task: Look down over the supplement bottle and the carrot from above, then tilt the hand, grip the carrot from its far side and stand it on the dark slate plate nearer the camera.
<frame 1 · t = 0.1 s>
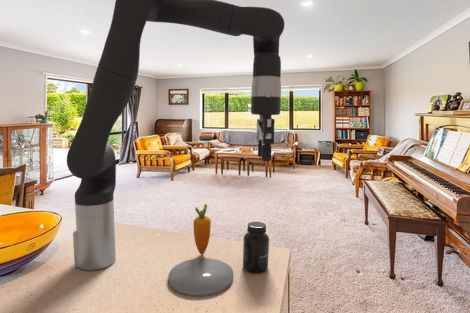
hand: (263, 158, 76), 29 cm above the kitchen counter, tool pointing down, fingers open, 8 cm apart
supplement bottle: (255, 268, 77), on the kitchen counter
carrot: (202, 255, 84), on the kitchen counter
slate plate: (201, 277, 72), on the kitchen counter
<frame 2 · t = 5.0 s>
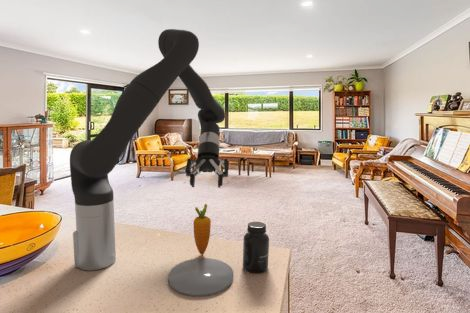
hand: (206, 186, 93), 18 cm above the kitchen counter, tool tilted 45°, fingers open, 8 cm apart
nothing on the kitchen counter moved.
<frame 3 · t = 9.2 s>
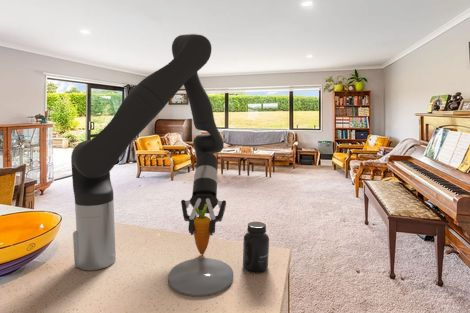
hand: (201, 233, 81), 7 cm above the kitchen counter, tool tilted 45°, fingers closed on carrot, 4 cm apart
carrot: (202, 255, 84), on the kitchen counter, touching gripper
everything else where it was.
when the fingers open (9 cm above the kitchen counter, at t = 14.3 s): carrot drops 1 cm, resting on slate plate.
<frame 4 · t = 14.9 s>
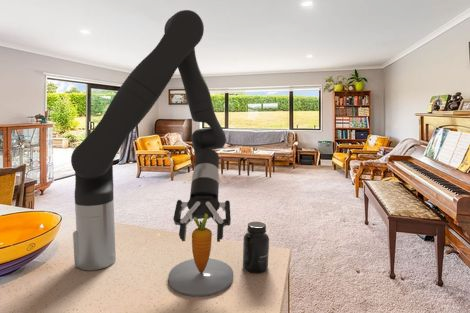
hand: (200, 240, 69), 10 cm above the kitchen counter, tool tilted 45°, fingers open, 8 cm apart
carrot: (201, 273, 72), point 1 cm above the kitchen counter, touching slate plate
everything else where it was.
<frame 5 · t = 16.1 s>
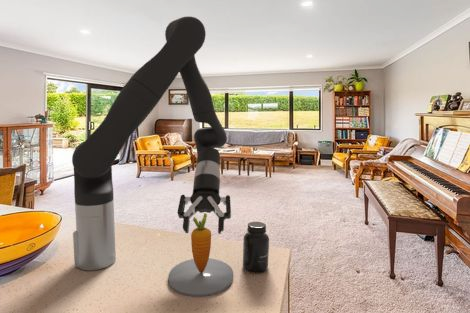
hand: (203, 232, 74), 10 cm above the kitchen counter, tool tilted 45°, fingers open, 8 cm apart
nothing on the kitchen counter moved.
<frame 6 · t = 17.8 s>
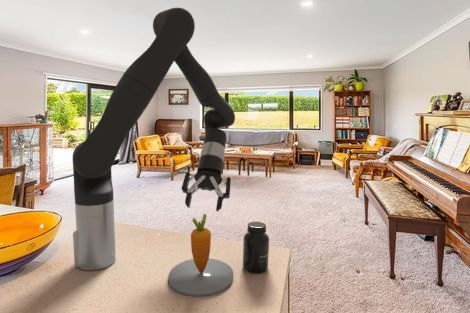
hand: (202, 208, 83), 14 cm above the kitchen counter, tool tilted 35°, fingers open, 8 cm apart
nothing on the kitchen counter moved.
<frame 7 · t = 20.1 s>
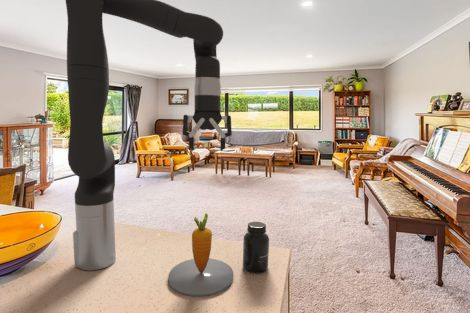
hand: (207, 150, 85), 30 cm above the kitchen counter, tool pointing down, fingers open, 8 cm apart
nothing on the kitchen counter moved.
at the end: carrot inside the target area on the slate plate (0.2 cm from its centre), point 0.8 cm above the slate plate's base; carrot tilted 1°; the gripper is holding nothing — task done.
